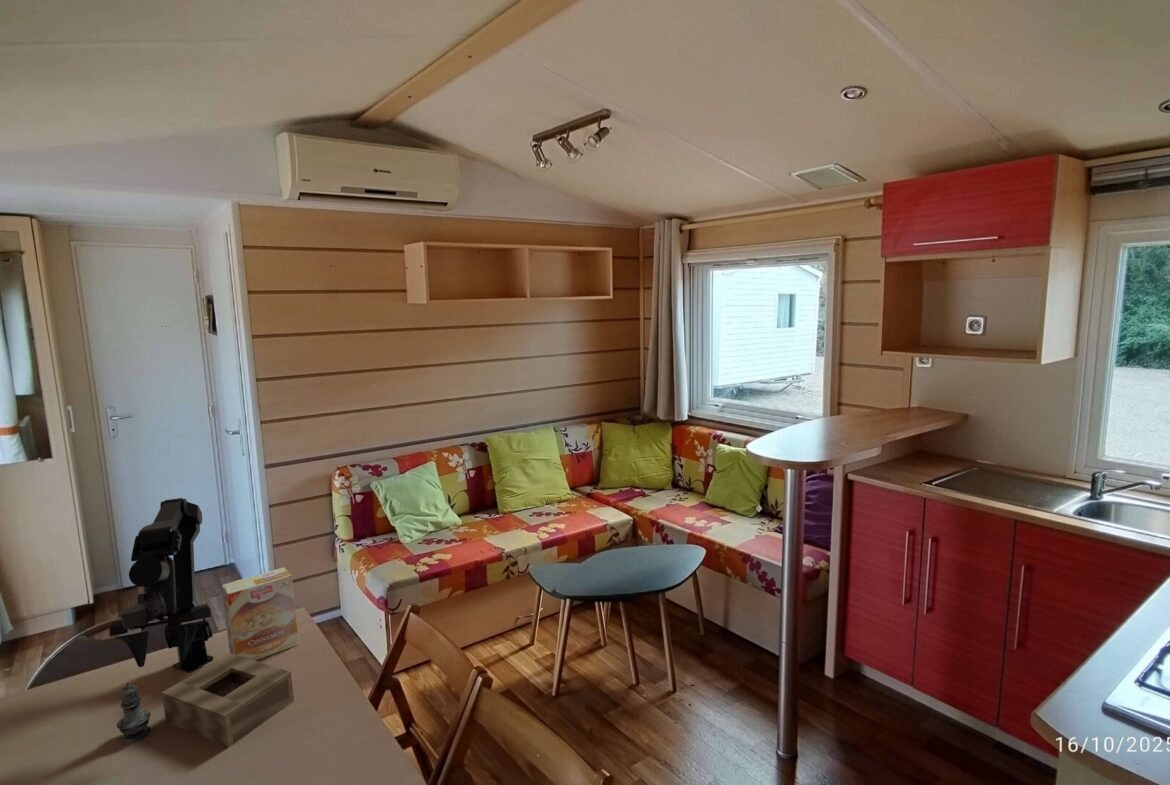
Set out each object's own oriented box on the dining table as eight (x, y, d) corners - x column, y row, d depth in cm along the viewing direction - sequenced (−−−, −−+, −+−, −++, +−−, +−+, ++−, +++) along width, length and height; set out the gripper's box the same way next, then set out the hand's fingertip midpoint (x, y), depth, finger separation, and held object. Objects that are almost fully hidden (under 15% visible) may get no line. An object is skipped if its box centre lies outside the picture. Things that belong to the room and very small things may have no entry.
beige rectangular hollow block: (166, 722, 138) (161, 692, 137) (233, 680, 152) (230, 653, 151) (229, 747, 129) (224, 715, 128) (294, 700, 144) (290, 671, 143)
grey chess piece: (135, 746, 131) (127, 692, 129) (111, 742, 132) (102, 689, 130) (159, 726, 136) (151, 675, 134) (136, 723, 137) (128, 672, 135)
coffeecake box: (236, 668, 157) (227, 594, 154) (229, 656, 162) (220, 584, 159) (300, 644, 167) (292, 574, 163) (291, 634, 172) (283, 565, 169)
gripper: (86, 598, 129) (87, 680, 126) (173, 581, 128) (177, 663, 125) (129, 592, 140) (131, 667, 137) (210, 577, 139) (214, 652, 136)
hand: (162, 663), depth 133 cm, fingers open, 9 cm apart
